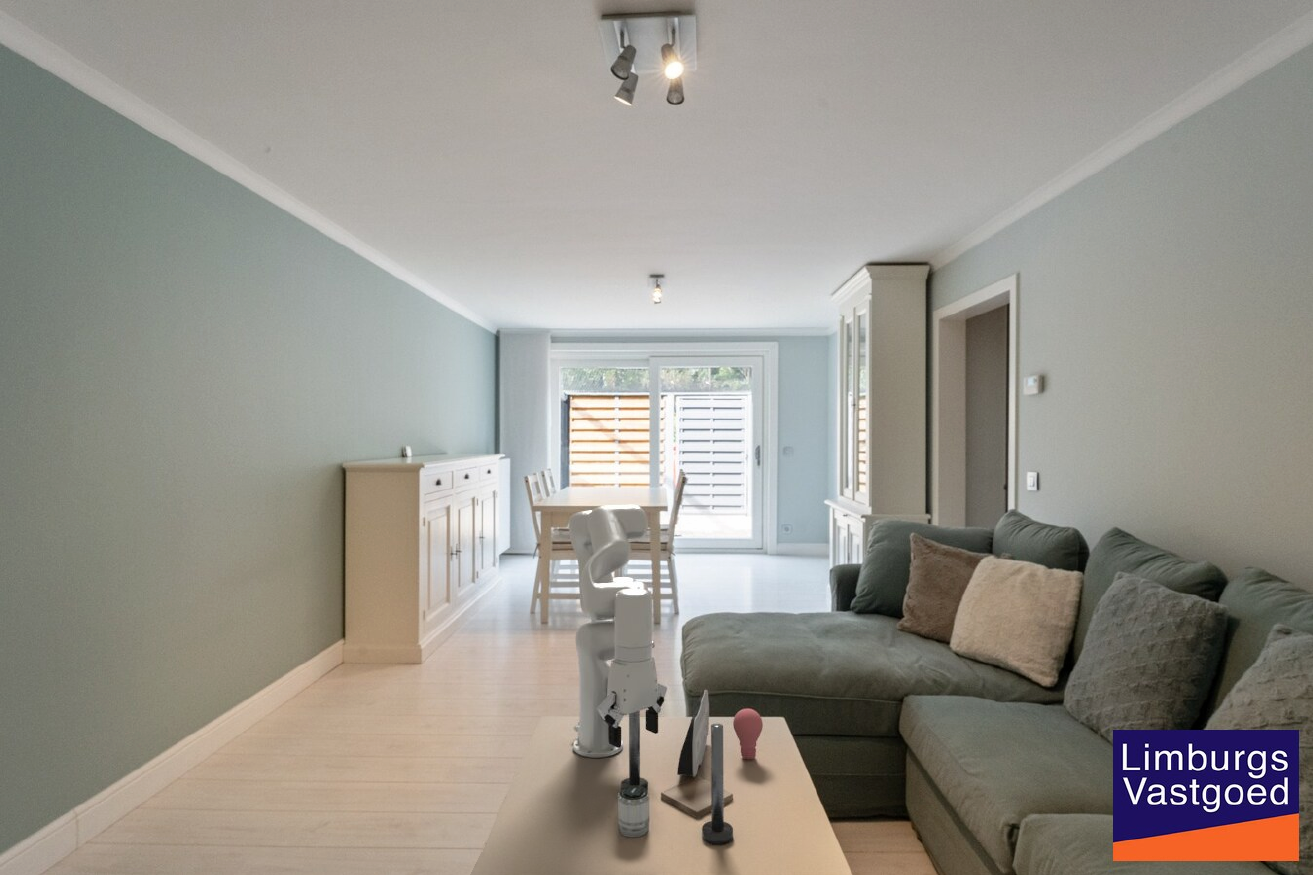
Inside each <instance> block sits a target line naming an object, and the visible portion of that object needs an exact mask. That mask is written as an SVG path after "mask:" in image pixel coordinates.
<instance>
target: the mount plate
mask: <svg viewBox="0 0 1313 875" xmlns="http://www.w3.org/2000/svg"><path fill="white" fill-rule="evenodd" d="M660 799H662V800H664V801H666V802H668V803H670V805H671V804H672V805H673V806H675V807H677V808H679V809H680V810H682V811H684V812H686V813H687V814H690V815H692V817H695V818H699V817H701V816H703V815H705V814H707V813H709V812H711V781H710V782H709V781H707V780H705V779H703V778H701V777H699V776H698V775H697V776H696V775H695V777H691V778H689V779H687V780H685V781H683V782H680V783H678V784H676V785H674V786H671V787H670V788H668V789H665V790H664V791H661V792H660ZM733 799H734V794H733V793H732V792H730V791H728V790H726V789H724V805H725V804H727V803H729V802H731V801H733Z"/></svg>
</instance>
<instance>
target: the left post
mask: <svg viewBox="0 0 1313 875" xmlns="http://www.w3.org/2000/svg"><path fill="white" fill-rule="evenodd" d="M640 712H641V710H640V711H637V712H634V713H631V714H628V756H629V757H628V773H629V774H628V777H627V778H625V779H623V780H622V781H621V782H620V783H621V784H620V790H622V789H623V788H625V787H627V786H641V787H643V788H645V789H646V790H647V791H648V792H649V782H648V780H647V779H645V778H643V777H641V728H640V727H641V723H640V722H641V719H640V718H641V713H640Z"/></svg>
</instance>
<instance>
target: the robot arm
mask: <svg viewBox="0 0 1313 875" xmlns="http://www.w3.org/2000/svg"><path fill="white" fill-rule="evenodd" d="M648 528H649V522H648V517H647V514H646V511H645V510H644V509H643V508H642V507H641V506H640V505H637V504H619V505H618V504H616V505H615V504H614V505H611V504H610V505H601V506H597V507H595V508H593V509H591V510H582V511H579V512H575V513H574V514H572V515H571V516H570V518H569V521H568V534H569V539H570V544H571V546H572V548H573V551H574V554H575V556H576V560H577V564H578V587H579V588H578V590H579V605H580V608H581V612H582V614H584V615H585V616H588V618H590V620H593V622H587V623H584V624H582V625H581V626H579V627H578V628H577V630H576V633H575V648H576V654H577V661H578V678H579V681H578V682H579V684H578V686H579V688H578V691H579V692H578V693H579V697H578V698H579V700H578V702H579V704H578V706H579V707H578V709H579V712H578V713H579V715H578V716H579V719H578V720H579V721H578V723H577V725H576V724H575V725H574V726H573V731H574V732H577V738H576V739H575V740H574V742H573V745H572V746H573V748H572V749H573V751H574V752H575V753H576V754H577V755H579V756H582V757H586V758H594V759H595V758H597V759H598V758H607V757H611V756H613V755H616V754H618V753H620V752H621V751H622V750H623V748H624V741H623V739H622V726H619V725H620V724H621V721H622V720H623V718H624V717H625V716H629V714H631V713H634V712H637V711H640V712H641V711H643V710H645V709H646V710H645V730H646V731H648V732H650V733H652V734H655V735H657V734H658V733H659V713H661V710H662V708H661V707H662V706H663V704H664V702H665V697H666V693H667V691H668V687H667V686H665V685H662V684H661V683H658V673H657V667H656V661H655V657H654V656H653V649H655V647H656V644H655V642H654V641H653V599H652V598H653V597H652V591H651V589H650V588H649V587H648V585H647V584H646V583H644V582H641V581H638V580H636V579H635V578H634V577H631V576H630V577H628V576H627V577H626V576H622V577H618V576H617V577H613V574H612V573H614V572H616V571H618V570H620V569H622V568H623V567H624V566H625V565H627V564H628V563H629V561H630V559H631V558H632V547H631V545H630V543H633V542H634V543H635V542H638V541H641V540H643V539H644V538H645V537H646V535H647V533H648ZM608 661H611V663H610V664H608V663H607V662H608Z"/></svg>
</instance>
